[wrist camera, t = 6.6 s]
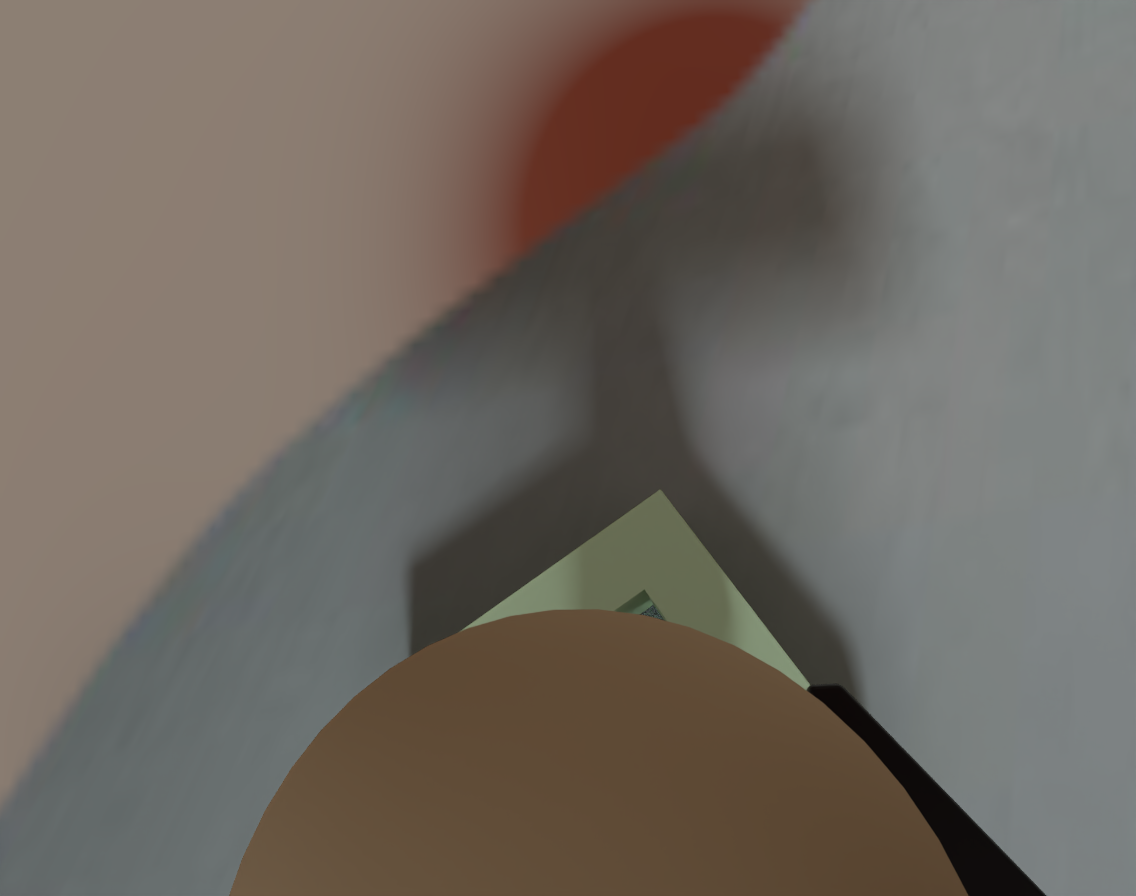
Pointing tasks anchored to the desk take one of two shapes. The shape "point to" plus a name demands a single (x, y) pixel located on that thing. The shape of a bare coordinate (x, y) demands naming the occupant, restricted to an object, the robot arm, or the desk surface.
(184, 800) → the desk surface
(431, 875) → the beige ridged cylinder
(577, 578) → the pale green square holder
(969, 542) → the desk surface
